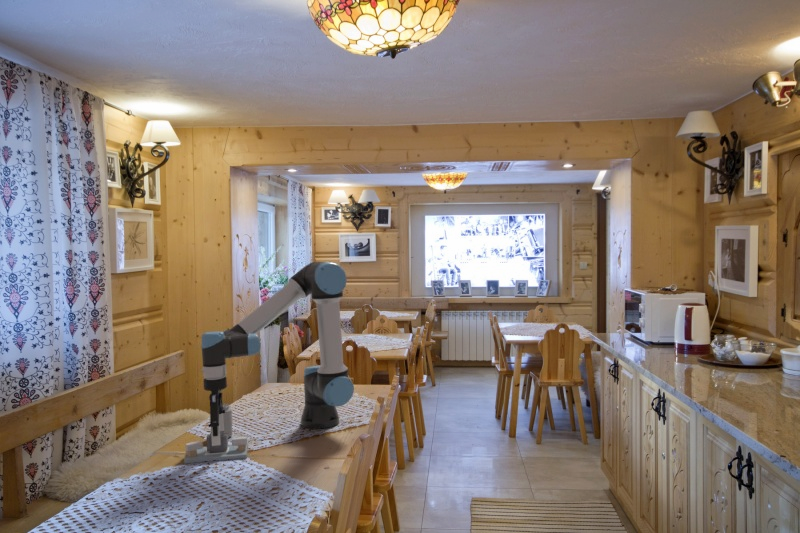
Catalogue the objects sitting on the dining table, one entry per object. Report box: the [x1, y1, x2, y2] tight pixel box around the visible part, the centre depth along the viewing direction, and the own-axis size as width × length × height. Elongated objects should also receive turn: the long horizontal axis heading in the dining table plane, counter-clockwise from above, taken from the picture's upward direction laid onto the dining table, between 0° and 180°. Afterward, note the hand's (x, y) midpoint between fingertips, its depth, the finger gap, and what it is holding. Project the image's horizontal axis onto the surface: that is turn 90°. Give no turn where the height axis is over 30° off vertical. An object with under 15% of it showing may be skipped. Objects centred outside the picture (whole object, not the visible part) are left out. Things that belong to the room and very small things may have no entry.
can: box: [221, 403, 233, 439], centre depth 225 cm, size 8×8×12 cm
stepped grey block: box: [206, 431, 229, 453], centre depth 206 cm, size 7×4×6 cm
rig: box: [183, 436, 249, 465], centre depth 206 cm, size 20×12×5 cm, turn 102°
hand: (218, 438), depth 206 cm, fingers open, 13 cm apart
